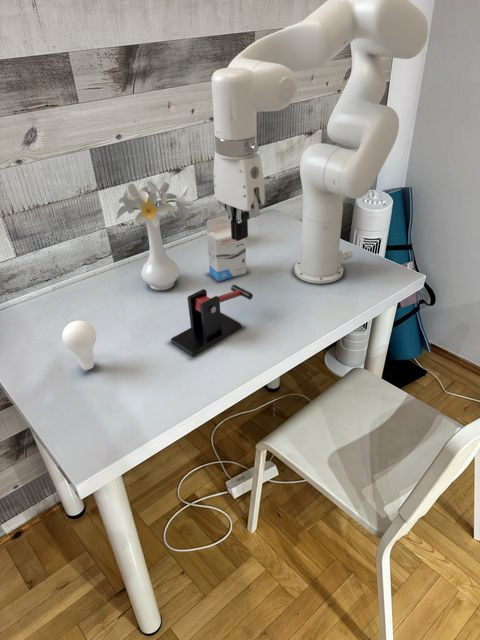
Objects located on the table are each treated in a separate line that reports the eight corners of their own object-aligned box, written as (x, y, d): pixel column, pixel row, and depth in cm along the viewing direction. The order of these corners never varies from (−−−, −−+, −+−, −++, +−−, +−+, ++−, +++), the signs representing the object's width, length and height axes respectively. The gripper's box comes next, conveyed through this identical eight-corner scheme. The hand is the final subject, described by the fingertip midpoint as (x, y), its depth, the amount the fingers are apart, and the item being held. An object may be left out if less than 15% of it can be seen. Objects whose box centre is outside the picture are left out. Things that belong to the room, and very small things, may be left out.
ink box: (218, 282, 127) (214, 227, 118) (209, 274, 130) (204, 220, 121) (247, 273, 131) (245, 219, 122) (237, 265, 134) (235, 212, 125)
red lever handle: (235, 291, 114) (235, 282, 113) (252, 300, 111) (253, 290, 110) (190, 306, 106) (190, 296, 104) (207, 316, 103) (207, 305, 101)
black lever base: (220, 316, 115) (217, 278, 109) (241, 328, 111) (239, 290, 105) (171, 343, 107) (165, 304, 101) (192, 357, 104) (187, 317, 98)
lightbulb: (75, 381, 98) (60, 336, 91) (71, 363, 102) (56, 318, 96) (106, 373, 100) (94, 328, 93) (101, 355, 104) (89, 311, 97)
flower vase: (207, 277, 129) (199, 180, 114) (150, 307, 118) (132, 204, 103) (174, 261, 136) (161, 167, 121) (117, 288, 125) (95, 189, 110)
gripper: (280, 149, 91) (279, 243, 102) (223, 133, 99) (228, 222, 110) (250, 159, 86) (252, 255, 98) (193, 141, 95) (202, 233, 106)
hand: (239, 237), depth 104 cm, fingers closed
